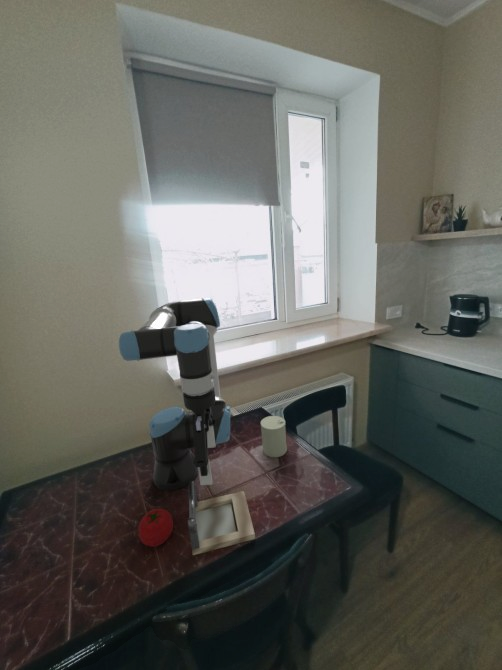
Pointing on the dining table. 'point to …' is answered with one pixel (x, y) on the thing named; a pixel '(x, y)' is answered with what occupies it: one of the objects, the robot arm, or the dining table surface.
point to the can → (273, 436)
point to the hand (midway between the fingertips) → (208, 463)
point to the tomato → (155, 527)
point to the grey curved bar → (193, 516)
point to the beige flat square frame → (223, 522)
